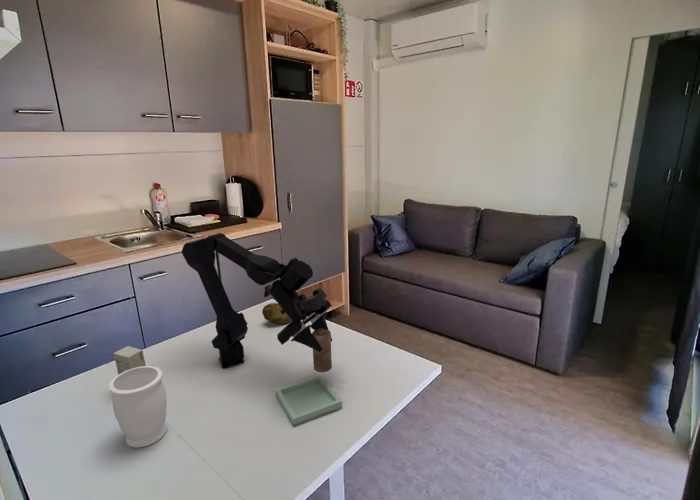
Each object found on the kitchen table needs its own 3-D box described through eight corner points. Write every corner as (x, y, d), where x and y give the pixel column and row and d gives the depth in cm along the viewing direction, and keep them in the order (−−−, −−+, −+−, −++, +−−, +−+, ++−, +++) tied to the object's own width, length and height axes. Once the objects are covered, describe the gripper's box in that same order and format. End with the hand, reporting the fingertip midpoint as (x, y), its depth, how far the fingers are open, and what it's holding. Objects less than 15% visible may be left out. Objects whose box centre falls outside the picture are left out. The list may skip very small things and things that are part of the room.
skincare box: (151, 389, 105) (144, 349, 102) (136, 398, 102) (129, 357, 98) (135, 383, 108) (127, 344, 105) (120, 392, 104) (112, 352, 101)
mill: (315, 373, 99) (313, 334, 96) (312, 363, 104) (310, 326, 101) (333, 370, 101) (332, 332, 98) (329, 361, 105) (328, 323, 102)
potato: (299, 324, 142) (298, 304, 140) (264, 329, 138) (262, 309, 136) (295, 315, 150) (294, 296, 147) (262, 320, 146) (260, 300, 144)
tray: (293, 426, 91) (293, 419, 90) (275, 396, 102) (275, 389, 101) (342, 408, 97) (342, 401, 96) (320, 381, 108) (320, 375, 107)
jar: (181, 424, 92) (172, 369, 88) (146, 457, 82) (134, 397, 78) (147, 415, 95) (137, 362, 91) (109, 445, 86) (96, 387, 82)
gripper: (284, 295, 90) (326, 348, 88) (324, 271, 106) (361, 316, 104) (260, 319, 95) (299, 369, 93) (302, 293, 111) (336, 336, 109)
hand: (326, 346), depth 100 cm, fingers closed on mill, 5 cm apart
